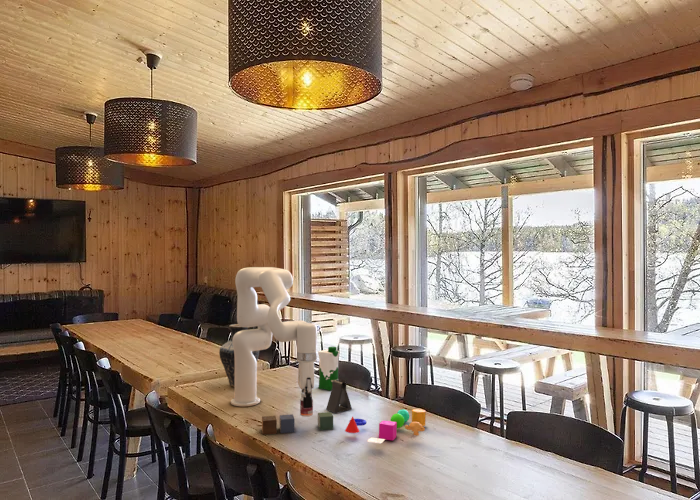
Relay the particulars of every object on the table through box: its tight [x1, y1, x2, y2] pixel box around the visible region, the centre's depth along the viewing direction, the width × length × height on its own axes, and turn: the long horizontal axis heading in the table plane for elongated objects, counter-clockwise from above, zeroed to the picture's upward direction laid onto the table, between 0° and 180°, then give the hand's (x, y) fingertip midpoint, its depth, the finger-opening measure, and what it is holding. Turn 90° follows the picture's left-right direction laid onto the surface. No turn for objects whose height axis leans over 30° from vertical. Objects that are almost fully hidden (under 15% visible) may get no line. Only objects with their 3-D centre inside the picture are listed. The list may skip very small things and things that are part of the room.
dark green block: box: [317, 411, 334, 431], centre depth 190 cm, size 5×5×5 cm
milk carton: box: [317, 346, 341, 392], centre depth 245 cm, size 9×9×20 cm
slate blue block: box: [279, 413, 296, 434], centre depth 187 cm, size 5×5×5 cm
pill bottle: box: [299, 391, 314, 418], centre depth 188 cm, size 5×5×8 cm
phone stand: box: [325, 379, 353, 414], centre depth 212 cm, size 9×6×12 cm, turn 127°
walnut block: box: [261, 415, 278, 436], centre depth 185 cm, size 5×5×5 cm
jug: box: [218, 323, 261, 388], centre depth 249 cm, size 21×19×30 cm
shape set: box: [344, 408, 427, 444], centre depth 183 cm, size 29×35×7 cm
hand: (306, 404), depth 188 cm, fingers closed on pill bottle, 4 cm apart
